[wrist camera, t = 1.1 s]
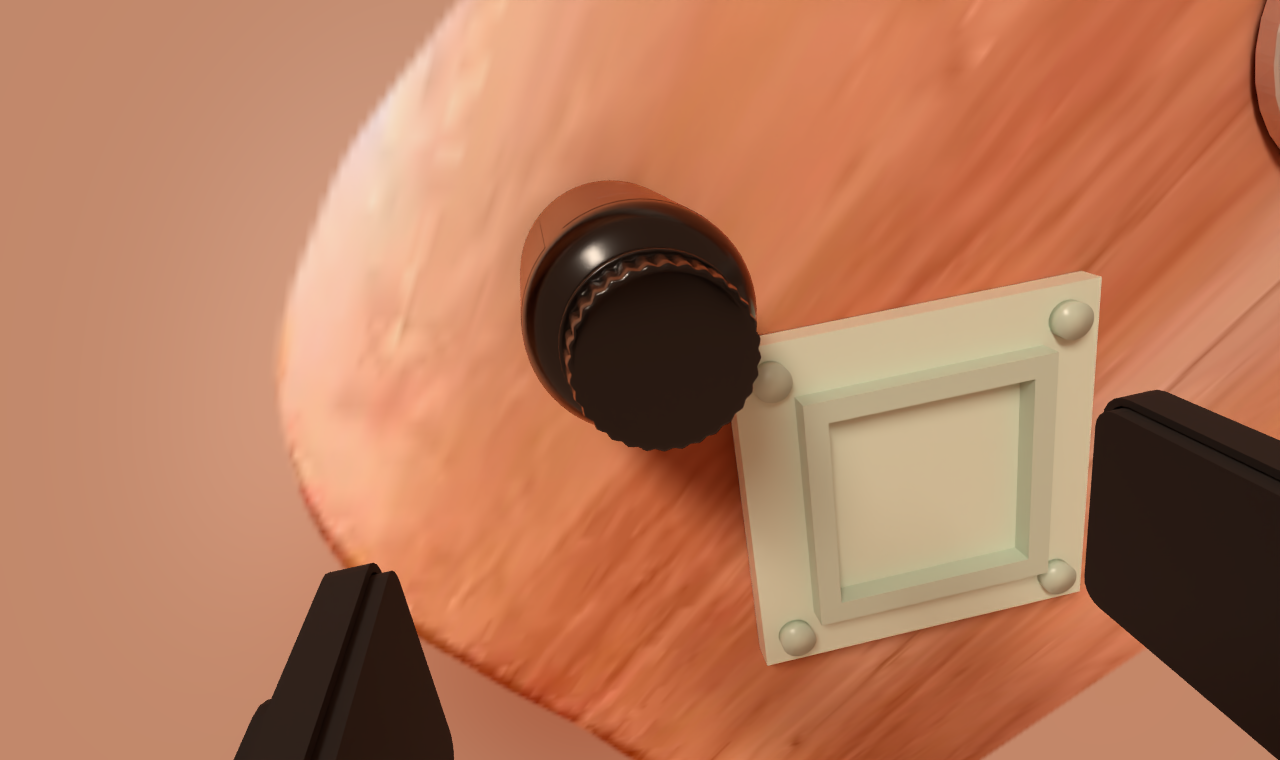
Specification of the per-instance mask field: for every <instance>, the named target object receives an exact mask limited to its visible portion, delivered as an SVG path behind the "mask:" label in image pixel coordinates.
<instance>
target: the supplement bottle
mask: <svg viewBox="0 0 1280 760" xmlns="http://www.w3.org/2000/svg"><path fill="white" fill-rule="evenodd" d="M520 295H521V326H522V335H523V340H524V345H525V349H526V352H527V355H528V358H529V361H530V363H531V366H532V368H533V370H534V372H535V374H536V376H537V377H538V379H539V381H540V382H541V384H542V385H543V386H544V388H545V389H546V390H547V392H548V393H549V394H550V395H551V396H552V397H553V398H554V399H555V400H556V401H557V402H558V403H559V404H560V405H561V406H563V407H564V408H565V409H566V410H568V411H569V412H570V413H572V414H574V415H575V416H577V417H578V418H580V419H582V420H584V421H586V422H588V423H591V424H593V425H595V427H596V429H597V430H600V431H602V432H605V433H607V434H608V436H609V437H610V438H611V439H612V440H616V441H622V442H623V443H624V444H625V445H627V446H628V447H640V448H642V449H643V450H646V451H648V450H653V449H658V450H661V451H667V450H670V449H672V448H681V449H683V448H685V447H686V446H688V445H689V444H692V443H700V442H701V441H703V440H704V439H705V438H706V437H707V436H709V435H714V434H716V433H717V432H718V431H719V430H720V428H721V427H722V426H723V425H726V424H728V423H730V422H731V421H732V419H733V417H734V415H735V414H736V413H737V412H739V411H740V410H741V409H743V407H744V404H745V400H746V399H747V398H748V397H749V396H750V395H751V393H752V392H753V383H754V381H755V380H756V379H757V377H758V367H757V366H758V364H759V362H760V359H761V354H760V351H759V345H760V340H761V338H760V336H759V334H758V333H757V332H756V327H757V321H756V311H757V308H756V297H755V292H754V287H753V283H752V280H751V276H750V273H749V271H748V269H747V266H746V264H745V262H744V260H743V258H742V256H741V255H740V253H739V252H738V250H737V249H736V247H735V246H734V244H733V243H732V242H731V241H730V240H729V238H728V237H727V236H726V235H725V234H724V233H723V232H722V231H721V230H720V229H719V228H717V227H716V226H715V225H714V224H712V223H711V222H710V221H708V220H707V219H706V218H704V217H703V216H701V215H699V214H698V213H696V212H694V211H692V210H690V209H688V208H686V207H684V206H682V205H680V204H678V203H676V202H674V201H672V200H670V199H668V198H666V197H664V196H662V195H660V194H658V193H656V192H654V191H652V190H650V189H648V188H645V187H642V186H639V185H637V184H633V183H629V182H623V181H611V180H609V181H597V182H591V183H587V184H584V185H581V186H578V187H575V188H573V189H571V190H569V191H567V192H565V193H564V194H562V195H561V196H559V197H558V198H556V199H555V200H554V201H553V202H551V203H550V204H549V205H548V206H547V207H546V208H545V209H544V210H543V212H542V213H541V214H540V215H539V217H538V218H537V219H536V221H535V222H534V224H533V226H532V228H531V229H530V231H529V234H528V236H527V238H526V241H525V244H524V247H523V252H522V257H521V267H520Z"/></svg>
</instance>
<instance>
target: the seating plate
mask: <svg viewBox="0 0 1280 760" xmlns="http://www.w3.org/2000/svg"><path fill="white" fill-rule="evenodd" d="M1101 281H1102V277H1101V276H1097V275H1094V274H1090V273H1087V272H1083V271H1079V272H1074V273H1069V274H1064V275H1059V276H1054V277H1049V278H1044V279H1039V280H1034V281H1029V282H1024V283H1019V284H1014V285H1009V286H1004V287H999V288H994V289H989V290H984V291H980V292H975V293H970V294H965V295H960V296H955V297H950V298H945V299H940V300H935V301H930V302H925V303H920V304H915V305H910V306H905V307H900V308H895V309H890V310H885V311H880V312H875V313H870V314H865V315H861V316H856V317H851V318H846V319H841V320H836V321H831V322H826V323H821V324H816V325H811V326H806V327H801V328H796V329H791V330H786V331H781V332H776V333H771V334H766V335H761V336H760V338H761V340H760V345H759V351H760V354H761V359H760V362H759V364H758V366H757V367H758V377H757V379H756V380H755V381H754V383H753V392H752V393H751V395H750V396H749V397H748V398H747V399H746V400H745V404H744V407H743V409H741V410H740V411H739V412H737V413H736V414H735V415H734V417H733V419H732V421H731V423H732V431H733V439H734V447H735V455H736V463H737V471H738V479H739V487H740V495H741V503H742V510H743V518H744V526H745V534H746V542H747V550H748V558H749V566H750V574H751V582H752V590H753V598H754V606H755V614H756V621H757V629H758V637H759V645H760V650H761V652H762V655H763V657H764V659H765V661H766V664H767V666H769V665H773V664H777V663H781V662H785V661H790V660H794V659H798V658H802V657H806V656H811V655H815V654H819V653H823V652H827V651H831V650H836V649H840V648H844V647H848V646H852V645H857V644H861V643H865V642H869V641H873V640H878V639H882V638H886V637H890V636H894V635H898V634H903V633H907V632H911V631H915V630H919V629H924V628H928V627H932V626H936V625H940V624H944V623H949V622H953V621H957V620H961V619H965V618H970V617H974V616H978V615H982V614H986V613H991V612H995V611H999V610H1003V609H1007V608H1011V607H1016V606H1020V605H1024V604H1028V603H1032V602H1037V601H1041V600H1045V599H1049V598H1053V597H1058V596H1062V595H1066V594H1070V593H1074V592H1078V591H1080V578H1081V564H1082V550H1083V536H1084V521H1085V507H1086V493H1087V479H1088V465H1089V451H1090V437H1091V422H1092V408H1093V394H1094V380H1095V366H1096V352H1097V337H1098V323H1099V309H1100V295H1101Z"/></svg>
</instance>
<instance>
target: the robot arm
mask: <svg viewBox="0 0 1280 760" xmlns="http://www.w3.org/2000/svg"><path fill="white" fill-rule="evenodd" d="M1255 85H1256V90H1257V96H1258V102H1259V108H1260V112H1261V115H1262V117H1263V120H1264V122H1265V125H1266V127H1267V130H1268V132H1269V135H1270V136H1271V137H1272V139H1273V140H1274V142H1275V143H1276V144H1277V146H1278V147H1279V149H1280V0H1267V2H1266V5H1265V8H1264V11H1263V14H1262V17H1261V22H1260V28H1259V34H1258V40H1257V46H1256V55H1255ZM1085 585H1086V589H1087V591H1088V593H1089V595H1090V597H1091V599H1092V600H1093V601H1094V603H1095V604H1096V605H1097V606H1098V607H1099V608H1100V609H1101V610H1103V611H1104V612H1105V613H1106V614H1107V615H1109V616H1110V617H1111V618H1112V619H1113V620H1114V621H1116V622H1117V623H1118V624H1119V625H1120V626H1121V627H1123V628H1124V629H1125V630H1126V631H1127V632H1129V633H1130V634H1131V635H1132V636H1133V637H1134V638H1136V639H1137V640H1138V641H1139V642H1140V643H1141V644H1143V645H1144V646H1145V647H1146V648H1147V649H1149V650H1150V651H1151V652H1152V653H1153V654H1154V655H1156V656H1157V657H1158V658H1159V659H1160V660H1161V661H1163V662H1164V663H1165V664H1166V665H1167V666H1169V667H1170V668H1171V669H1172V670H1173V671H1174V672H1176V673H1177V674H1178V675H1179V676H1180V677H1182V678H1183V679H1184V680H1185V681H1186V682H1187V683H1188V684H1190V685H1191V686H1192V687H1193V688H1195V689H1196V690H1197V691H1198V692H1199V693H1200V694H1201V695H1203V696H1204V697H1205V698H1206V699H1207V700H1208V701H1210V702H1211V703H1212V704H1213V705H1214V706H1216V707H1217V708H1218V709H1219V710H1220V711H1221V712H1223V713H1224V714H1225V715H1226V716H1227V717H1229V718H1230V719H1231V720H1232V721H1233V722H1234V723H1236V724H1237V725H1238V726H1239V727H1240V728H1241V729H1243V730H1244V731H1245V732H1246V733H1247V734H1248V735H1250V736H1251V737H1252V738H1253V739H1254V740H1256V741H1257V742H1258V743H1259V744H1260V745H1262V746H1263V747H1264V748H1265V749H1266V750H1267V751H1268V752H1270V753H1271V754H1272V755H1273V756H1274V757H1276V758H1277V759H1278V760H1280V440H1277V439H1275V438H1273V437H1270V436H1268V435H1266V434H1263V433H1261V432H1259V431H1256V430H1254V429H1252V428H1249V427H1247V426H1245V425H1242V424H1240V423H1238V422H1235V421H1233V420H1231V419H1228V418H1226V417H1224V416H1221V415H1219V414H1217V413H1214V412H1212V411H1210V410H1207V409H1205V408H1203V407H1200V406H1198V405H1196V404H1193V403H1191V402H1189V401H1186V400H1184V399H1182V398H1179V397H1177V396H1175V395H1172V394H1170V393H1168V392H1165V391H1161V390H1153V391H1148V392H1143V393H1138V394H1134V395H1129V396H1125V397H1120V398H1116V399H1113V400H1112V401H1110V402H1109V403H1108V404H1107V406H1106V407H1105V409H1104V413H1102V414H1100V415H1099V417H1098V419H1097V421H1096V426H1095V440H1094V453H1093V467H1092V481H1091V495H1090V508H1089V522H1088V536H1087V549H1086V563H1085ZM234 760H454V751H453V743H452V737H451V734H450V730H449V727H448V724H447V722H446V718H445V715H444V712H443V709H442V707H441V703H440V700H439V697H438V694H437V691H436V688H435V685H434V683H433V679H432V676H431V674H430V671H429V667H428V665H427V662H426V659H425V656H424V653H423V650H422V647H421V644H420V641H419V638H418V635H417V632H416V629H415V626H414V623H413V620H412V617H411V614H410V611H409V608H408V605H407V602H406V599H405V596H404V593H403V590H402V587H401V584H400V581H399V579H398V576H397V575H396V573H395V572H394V571H389V572H384V573H382V572H381V570H380V568H379V567H378V565H377V564H375V563H370V564H366V565H361V566H357V567H352V568H348V569H343V570H339V571H334V572H330V573H327V574H325V576H324V577H323V579H322V581H321V584H320V586H319V588H318V590H317V593H316V595H315V597H314V600H313V602H312V604H311V607H310V609H309V612H308V614H307V616H306V619H305V621H304V623H303V626H302V628H301V630H300V633H299V635H298V637H297V640H296V642H295V645H294V647H293V649H292V652H291V654H290V656H289V659H288V661H287V664H286V666H285V668H284V670H283V673H282V675H281V677H280V680H279V682H278V684H277V687H276V689H275V691H274V694H273V696H272V699H270V700H267V701H265V702H264V703H263V704H261V705H260V706H259V707H258V709H257V711H256V712H255V714H254V716H253V717H252V720H251V722H250V724H249V726H248V729H247V731H246V733H245V735H244V738H243V740H242V742H241V744H240V747H239V749H238V751H237V754H236V756H235V758H234Z"/></svg>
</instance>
